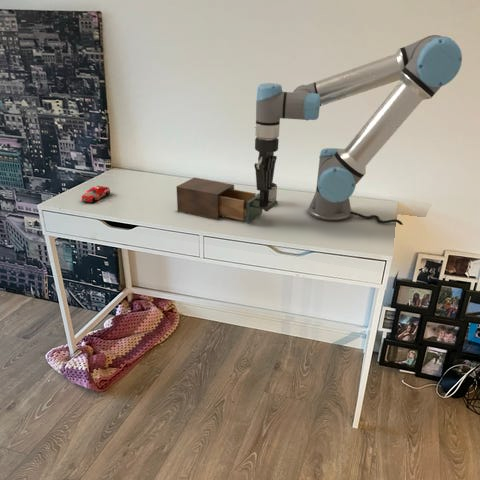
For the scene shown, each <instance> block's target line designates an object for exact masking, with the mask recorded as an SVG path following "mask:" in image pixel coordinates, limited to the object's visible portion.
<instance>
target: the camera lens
mask: <svg viewBox="0 0 480 480" xmlns="http://www.w3.org/2000/svg"><path fill="white" fill-rule="evenodd" d="M270 187H272V190H269V199H268V200H269V201H274V200H276V201H277V197H278V195H277V193H278V185H277V184H276V183H274V182H272V186H270ZM269 204H270V203H268V205H269Z"/></svg>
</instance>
